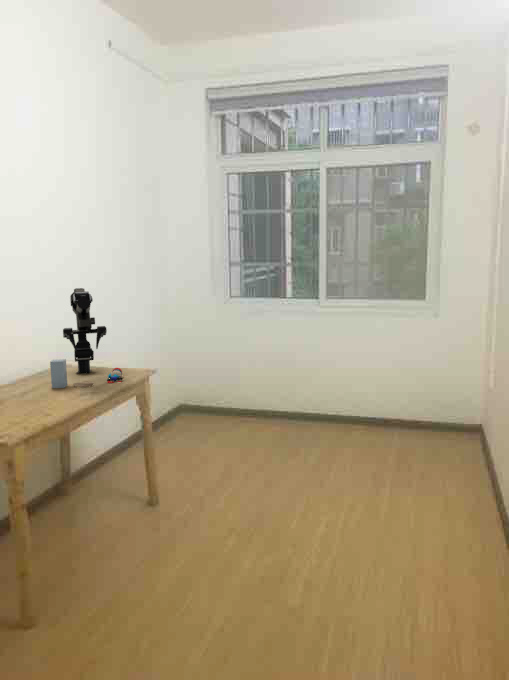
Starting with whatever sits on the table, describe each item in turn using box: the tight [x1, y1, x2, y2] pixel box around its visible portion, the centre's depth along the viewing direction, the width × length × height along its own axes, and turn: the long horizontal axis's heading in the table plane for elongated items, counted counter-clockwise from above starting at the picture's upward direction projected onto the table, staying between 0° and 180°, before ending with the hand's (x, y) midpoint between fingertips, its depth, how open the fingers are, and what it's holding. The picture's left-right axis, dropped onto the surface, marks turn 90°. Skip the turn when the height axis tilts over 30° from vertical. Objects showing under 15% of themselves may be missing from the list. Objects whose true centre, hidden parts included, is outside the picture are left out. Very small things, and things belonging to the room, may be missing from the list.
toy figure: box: [106, 367, 124, 384], centre depth 261 cm, size 8×5×15 cm
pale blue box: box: [49, 358, 68, 389], centre depth 247 cm, size 5×6×12 cm
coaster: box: [72, 381, 94, 388], centre depth 251 cm, size 9×9×1 cm
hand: (86, 349), depth 249 cm, fingers open, 9 cm apart
